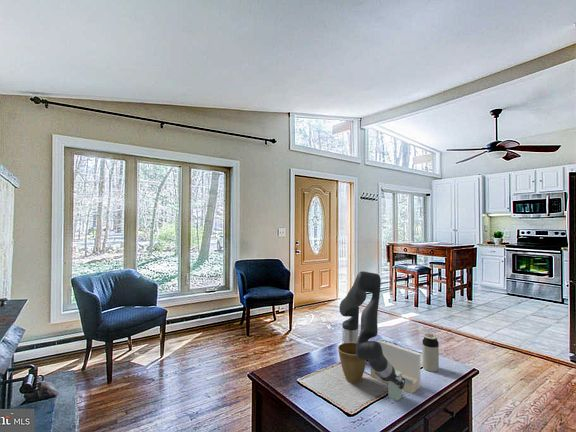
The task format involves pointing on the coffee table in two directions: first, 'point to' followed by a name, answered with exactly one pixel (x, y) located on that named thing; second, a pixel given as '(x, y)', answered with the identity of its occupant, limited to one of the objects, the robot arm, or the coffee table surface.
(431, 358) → the travel mug
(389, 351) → the white display stand
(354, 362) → the plant pot
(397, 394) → the pale green block
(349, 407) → the coffee table surface
